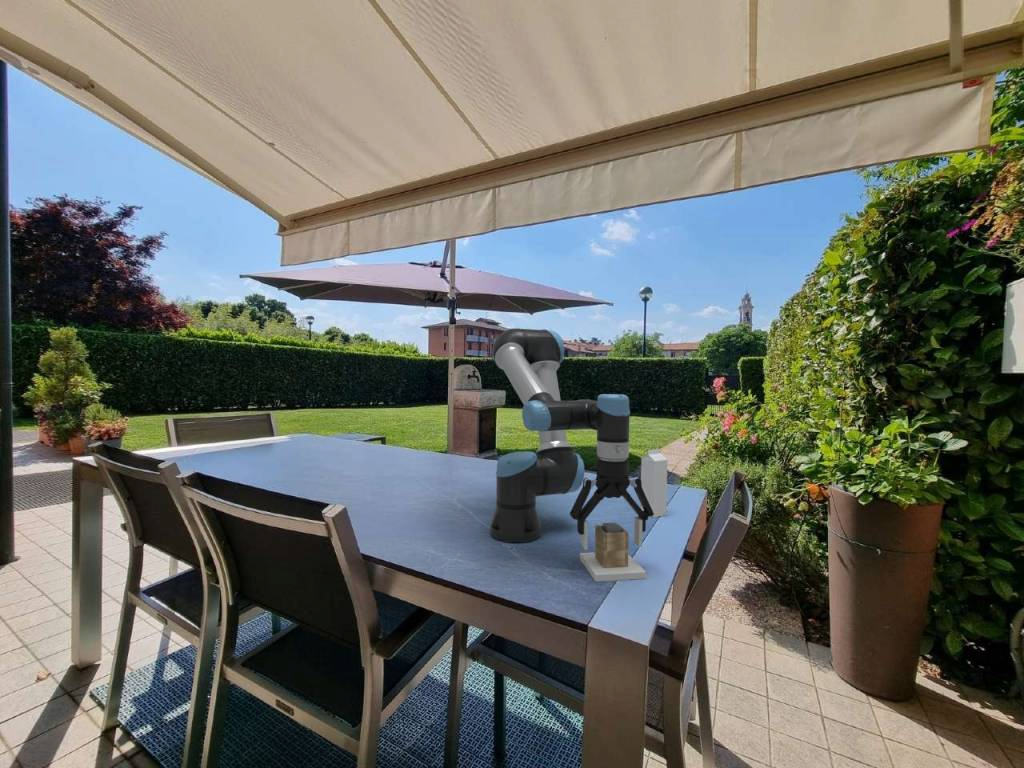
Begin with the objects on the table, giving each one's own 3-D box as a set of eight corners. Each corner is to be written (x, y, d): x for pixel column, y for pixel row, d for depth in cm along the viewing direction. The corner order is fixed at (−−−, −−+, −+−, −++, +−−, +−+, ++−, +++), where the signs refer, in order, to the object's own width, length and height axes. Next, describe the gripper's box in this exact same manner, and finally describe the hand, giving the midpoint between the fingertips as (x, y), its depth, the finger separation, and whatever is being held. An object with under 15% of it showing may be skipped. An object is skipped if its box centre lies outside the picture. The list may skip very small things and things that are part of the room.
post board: (595, 581, 94) (596, 535, 94) (579, 558, 106) (580, 517, 106) (646, 578, 96) (646, 533, 96) (624, 556, 108) (625, 515, 108)
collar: (603, 568, 98) (604, 534, 98) (595, 557, 104) (595, 525, 104) (628, 566, 99) (628, 533, 98) (618, 556, 104) (618, 524, 104)
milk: (666, 515, 141) (668, 450, 140) (654, 518, 138) (655, 451, 137) (652, 510, 146) (653, 447, 146) (640, 512, 143) (641, 448, 143)
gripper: (566, 462, 95) (565, 555, 95) (669, 460, 99) (667, 549, 99) (558, 456, 103) (557, 542, 103) (654, 454, 106) (652, 537, 106)
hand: (611, 546), depth 101 cm, fingers open, 13 cm apart
